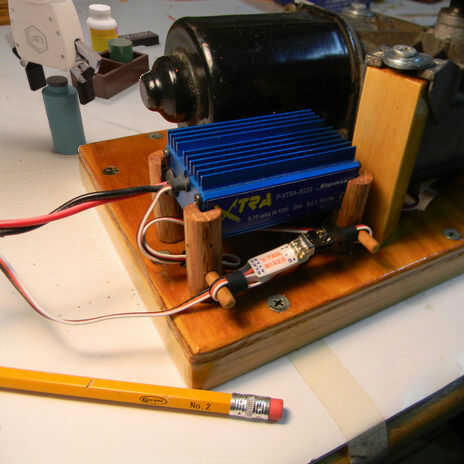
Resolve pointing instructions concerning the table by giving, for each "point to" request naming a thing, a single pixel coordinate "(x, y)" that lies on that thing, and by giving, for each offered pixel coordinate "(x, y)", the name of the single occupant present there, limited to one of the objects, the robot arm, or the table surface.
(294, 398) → the table surface
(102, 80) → the cup holder
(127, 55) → the green jar
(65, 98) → the water bottle
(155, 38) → the multiport hub
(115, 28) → the supplement bottle
